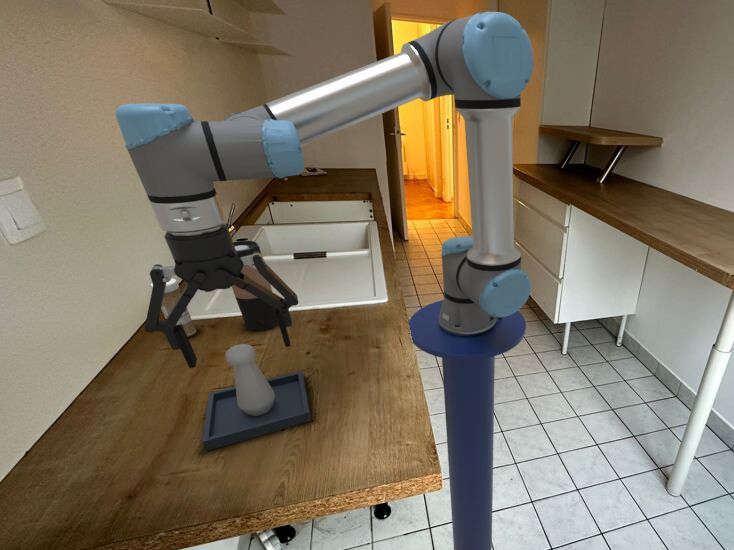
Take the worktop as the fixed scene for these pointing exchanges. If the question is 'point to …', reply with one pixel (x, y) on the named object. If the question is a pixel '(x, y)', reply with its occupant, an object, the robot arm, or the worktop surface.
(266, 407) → the salt shaker
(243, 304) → the travel mug
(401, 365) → the worktop surface
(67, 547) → the worktop surface
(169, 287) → the sprinkles bottle
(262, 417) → the tray
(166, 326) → the robot arm
